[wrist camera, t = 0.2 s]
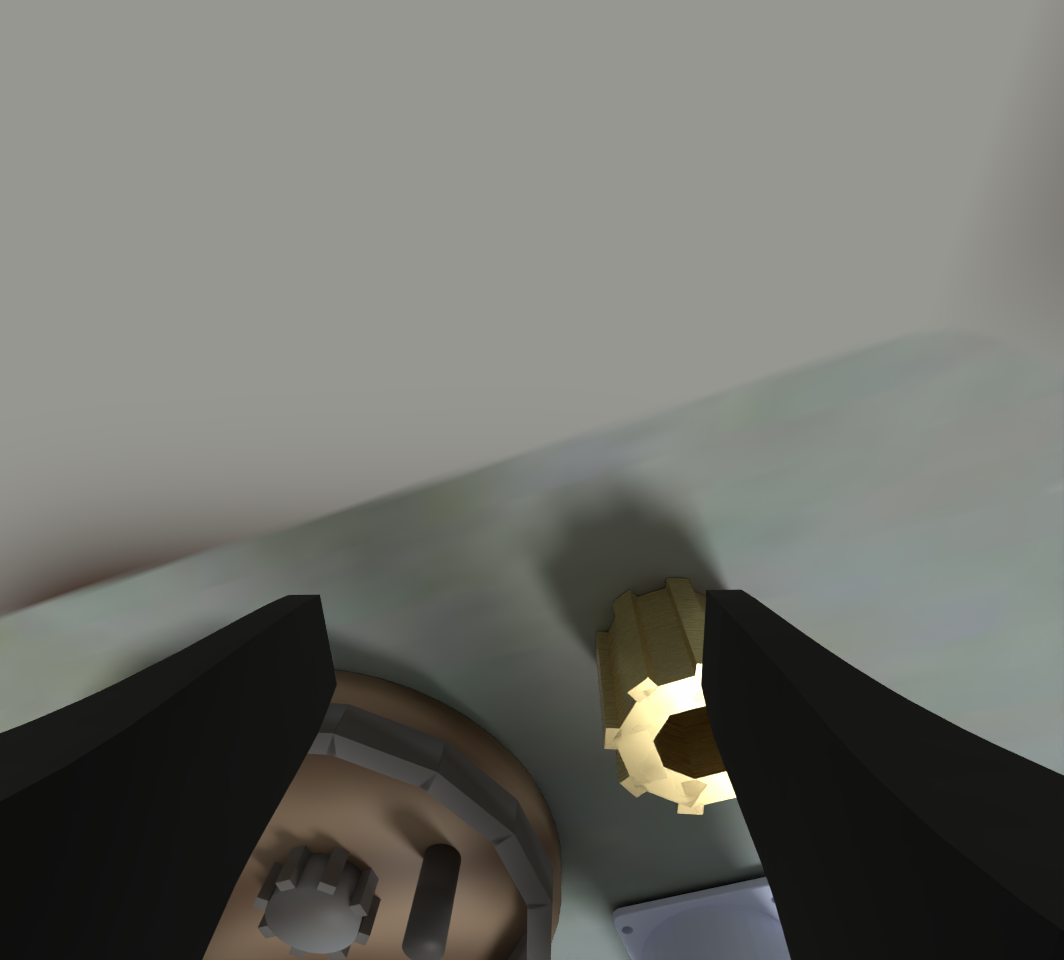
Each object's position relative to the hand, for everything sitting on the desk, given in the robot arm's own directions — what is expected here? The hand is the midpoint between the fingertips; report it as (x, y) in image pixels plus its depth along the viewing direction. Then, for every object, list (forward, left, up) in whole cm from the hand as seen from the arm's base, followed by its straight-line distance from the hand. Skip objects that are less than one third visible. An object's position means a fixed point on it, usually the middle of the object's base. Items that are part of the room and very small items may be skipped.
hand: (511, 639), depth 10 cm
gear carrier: (-14, +16, -10) cm, 23 cm away
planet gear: (-8, -2, -10) cm, 13 cm away
